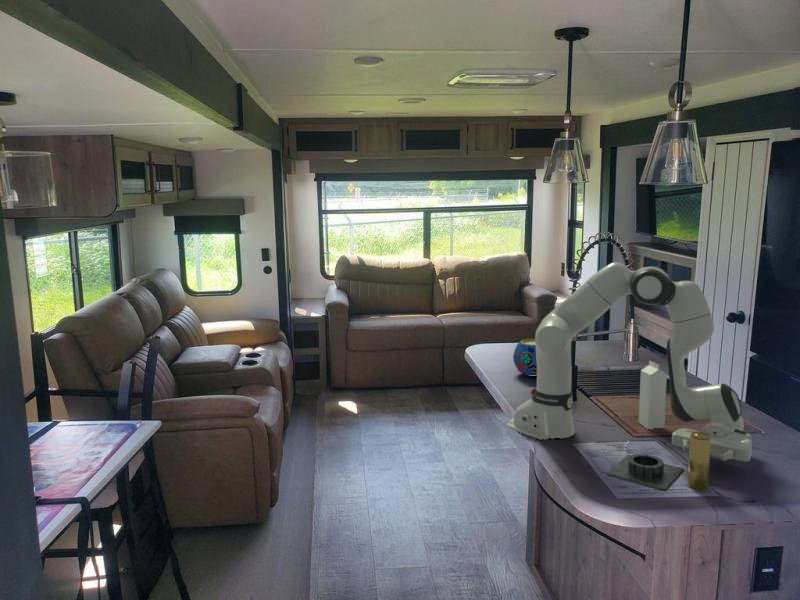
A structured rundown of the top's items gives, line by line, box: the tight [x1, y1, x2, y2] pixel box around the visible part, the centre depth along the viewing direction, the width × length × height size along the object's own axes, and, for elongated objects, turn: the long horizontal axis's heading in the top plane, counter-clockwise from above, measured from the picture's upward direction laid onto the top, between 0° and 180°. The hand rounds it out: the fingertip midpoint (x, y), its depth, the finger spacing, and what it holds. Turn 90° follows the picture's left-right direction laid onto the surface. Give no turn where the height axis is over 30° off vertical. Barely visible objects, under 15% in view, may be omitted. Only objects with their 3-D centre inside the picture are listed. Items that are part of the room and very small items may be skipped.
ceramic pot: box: [512, 338, 537, 375], centre depth 276 cm, size 18×18×15 cm
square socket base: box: [606, 453, 685, 492], centre depth 181 cm, size 16×16×4 cm
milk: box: [638, 360, 668, 430], centre depth 214 cm, size 6×6×22 cm
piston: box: [687, 432, 711, 491], centre depth 171 cm, size 5×5×15 cm
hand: (703, 453), depth 174 cm, fingers open, 8 cm apart
